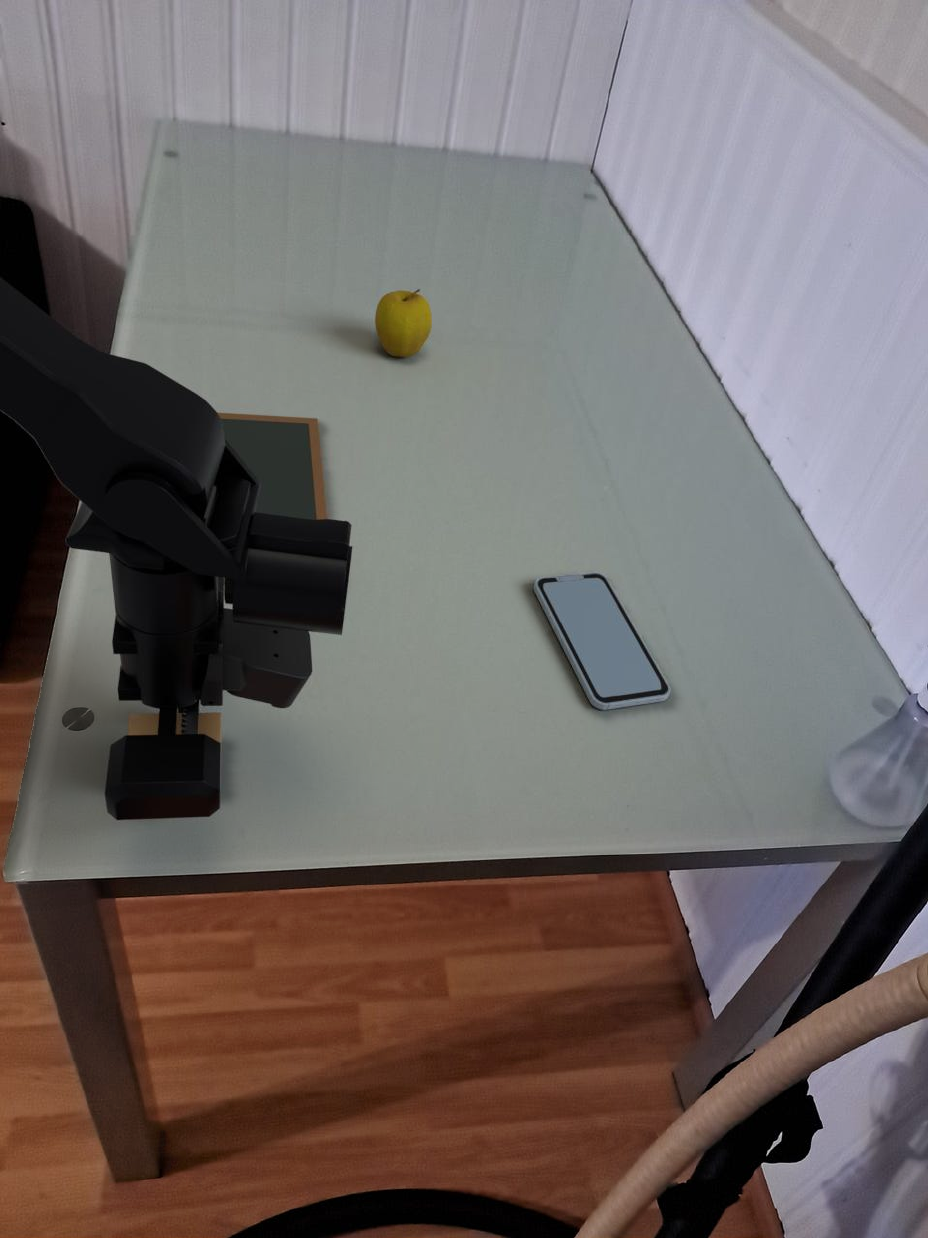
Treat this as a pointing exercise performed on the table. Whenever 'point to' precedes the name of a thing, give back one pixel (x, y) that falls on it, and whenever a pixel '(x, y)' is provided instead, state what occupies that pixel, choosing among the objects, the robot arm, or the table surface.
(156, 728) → the eraser
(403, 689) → the table surface
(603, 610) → the smartphone
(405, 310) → the apple
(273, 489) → the chalkboard
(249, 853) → the table surface
